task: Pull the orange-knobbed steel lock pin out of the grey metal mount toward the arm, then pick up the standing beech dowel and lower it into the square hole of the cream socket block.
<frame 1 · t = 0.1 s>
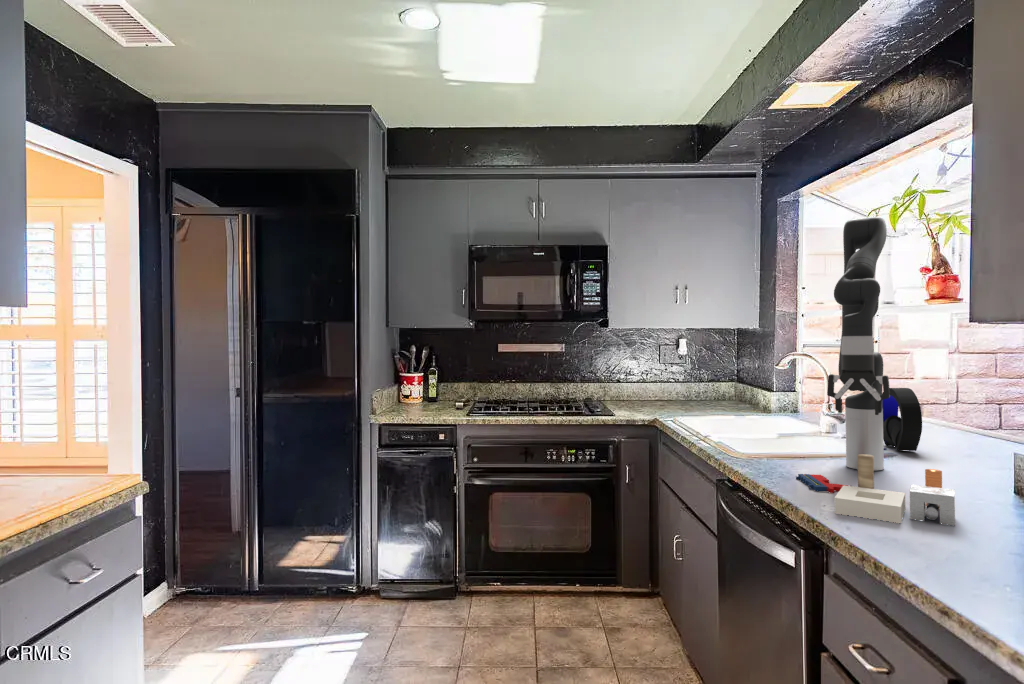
hand: (858, 413, 153), 17 cm above the worktop, tool pointing down, fingers open, 8 cm apart
pin mount: (932, 518, 120), on the worktop
dowel: (866, 497, 136), on the worktop
headphones: (900, 449, 186), on the worktop
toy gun: (824, 487, 147), on the worktop
lock pin: (932, 495, 122), point 4 cm above the worktop, slide at 0.0 cm
socket block: (870, 511, 126), on the worktop
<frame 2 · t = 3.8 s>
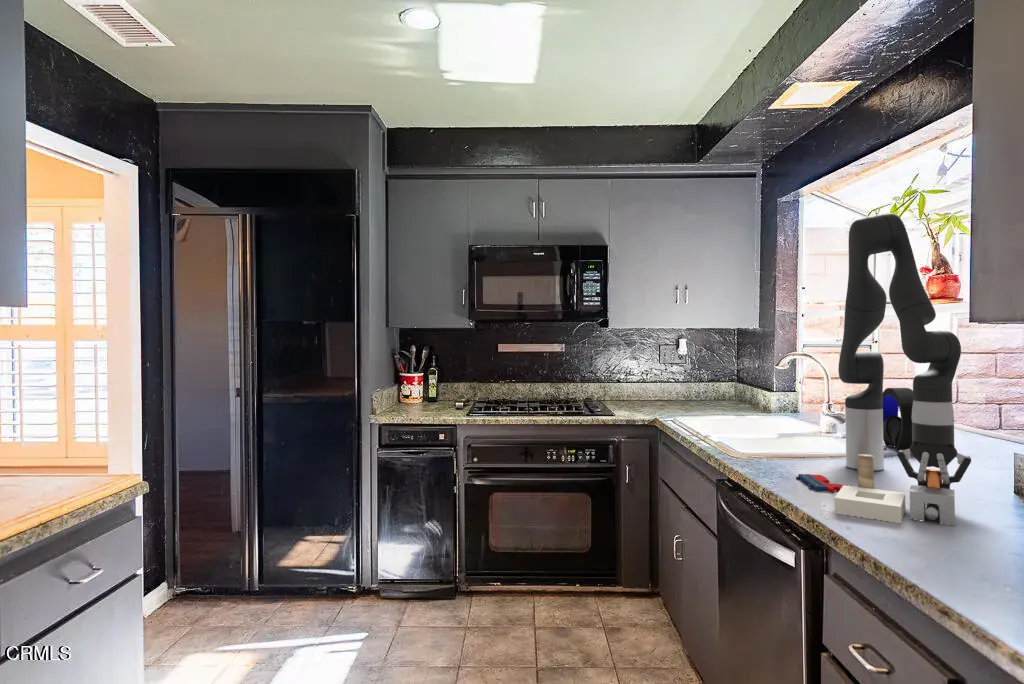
hand: (933, 498, 127), 2 cm above the worktop, tool pointing down, fingers closed on lock pin, 3 cm apart
lock pin: (932, 495, 122), point 4 cm above the worktop, slide at 0.0 cm, touching gripper
everything else where it was.
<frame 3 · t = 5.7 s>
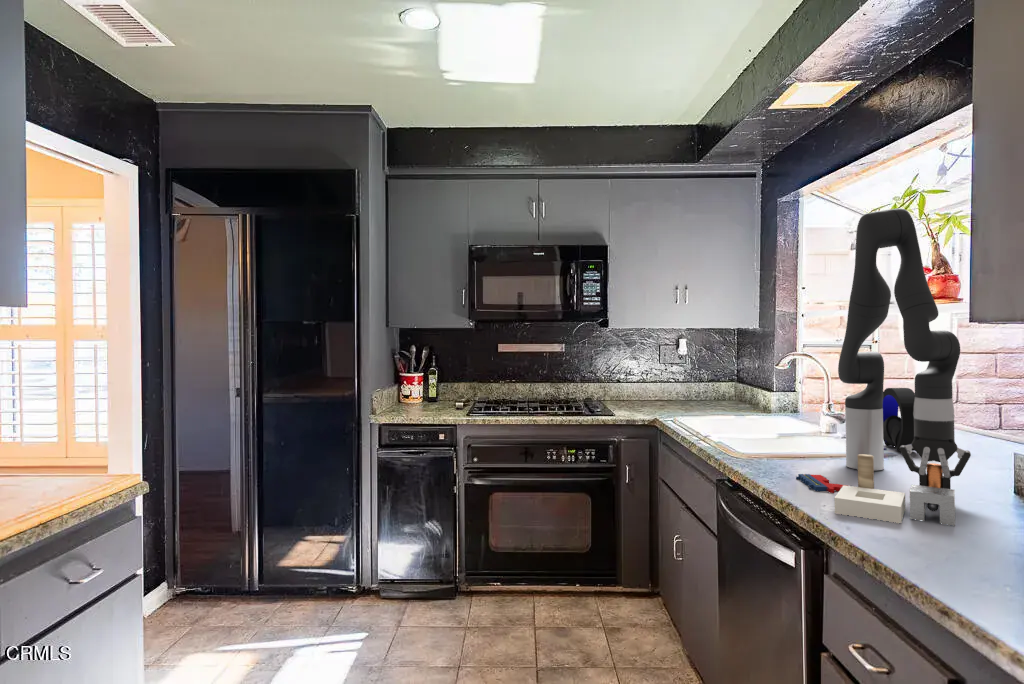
hand: (934, 491, 132), 2 cm above the worktop, tool pointing down, fingers closed on lock pin, 3 cm apart
lock pin: (933, 488, 127), point 4 cm above the worktop, slide at 6.4 cm, touching gripper
everything else where it was.
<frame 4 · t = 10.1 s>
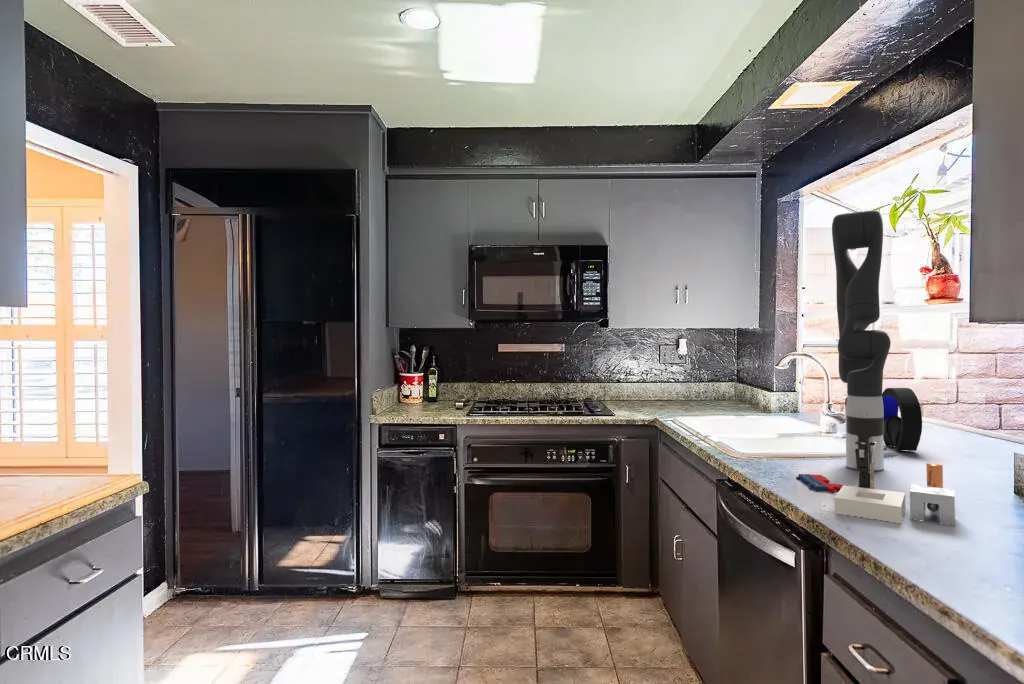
hand: (866, 486, 136), 3 cm above the worktop, tool pointing down, fingers closed on dowel, 3 cm apart
dowel: (866, 497, 136), on the worktop, touching gripper
lock pin: (933, 488, 127), point 4 cm above the worktop, slide at 6.4 cm
everything else where it was.
when the fingers open (5 cm above the worktop, at t = 15.6 s): dowel drops 2 cm, resting in socket block.
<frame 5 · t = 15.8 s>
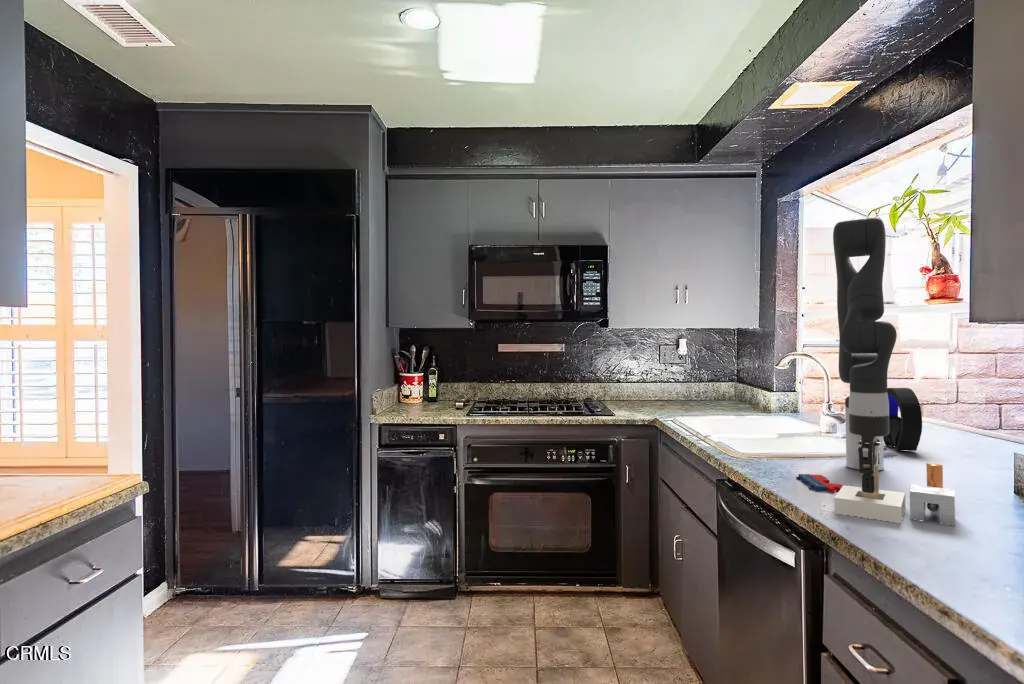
hand: (870, 488, 126), 5 cm above the worktop, tool pointing down, fingers open, 5 cm apart
dowel: (870, 511, 126), resting in socket block
everything else where it was.
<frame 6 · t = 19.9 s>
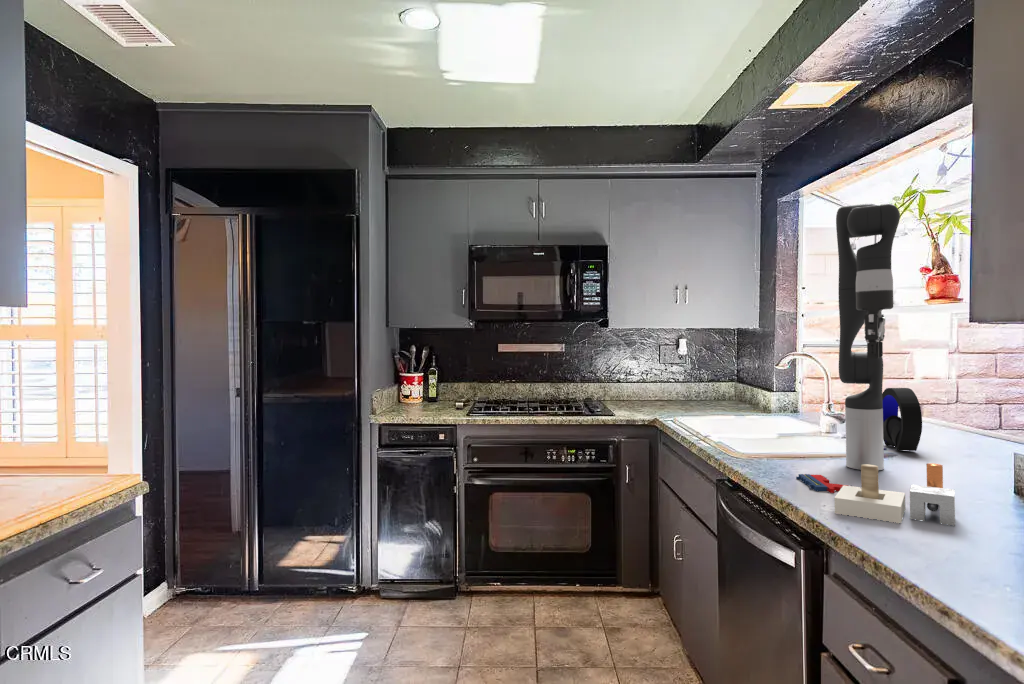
hand: (875, 357, 136), 33 cm above the worktop, tool pointing down, fingers open, 8 cm apart
nothing on the worktop moved.
at the end: lock pin slide at 6.4 cm; dowel 0.1 cm off-centre on the socket block, point 0.0 cm above the socket block's base; the gripper is holding nothing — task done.
